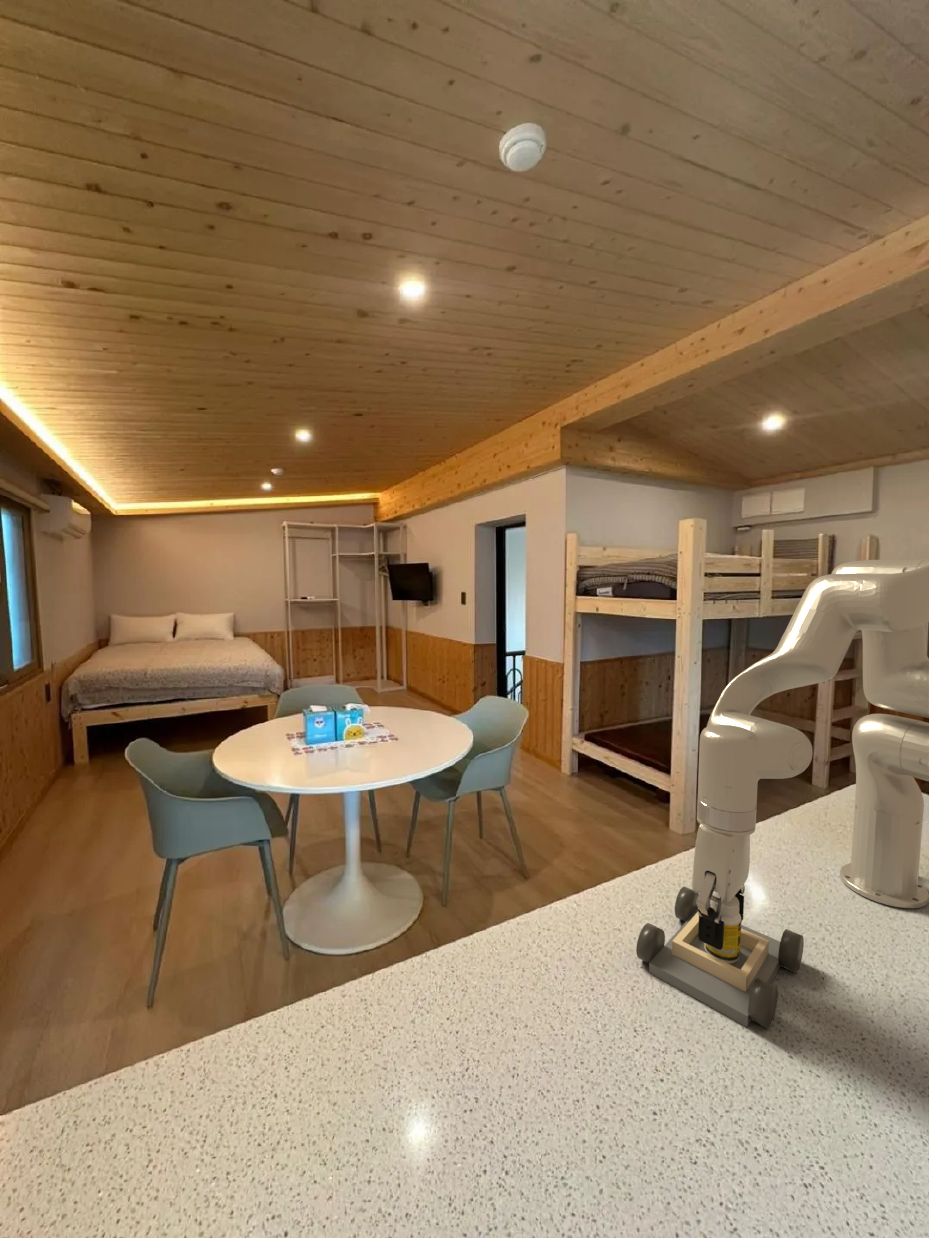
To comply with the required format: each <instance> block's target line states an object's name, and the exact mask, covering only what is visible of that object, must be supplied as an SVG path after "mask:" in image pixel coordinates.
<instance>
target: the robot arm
mask: <svg viewBox="0 0 929 1238" xmlns="http://www.w3.org/2000/svg"><path fill="white" fill-rule="evenodd" d="M927 623H929V559H927V558H926V559H924V558H923V559H864V560H854V561H848V562H843V563H841V564H839V565H836V567H834V568H833V570H832V571H831V574H825V575H822V576H818V577H817V578H815V579H814V580H812V581H811V582H810V583H809V584H808V585H807V587H806V589H805V590H804V591H803V594H802V596H801V598H800V600H799V601H798V605H797V606H796V608H795V610H794V612H793V615H792V616H791V617H790V620H789V622H788V625H787V627H786V629H785V631H784V632H783V634H782V636H781V638H780V640H779V642H778V645H777V647H776V648H775V649H774V651H773V652H772V653H770V654H769V655H767V656H765V657H763V658H761V659H759V661H757V662H755V663H753V664H752V665H749V667H747V668H746V669H744V670H743V671H742V672H740V673H739V674H738V675H736V676H735V677H734V678H733V679H732V680H730V682H729V683H728V684H727V685H726V686H725V687H724V689H723V690H722V692H721V694H720V696H719V697H718V699H717V702H716V703H715V705H714V707H713V709H712V712H711V713H710V716H709V719H708V721H707V723H706V727H704V728H703V729H702V730H701V733H700V735H699V747H698V748H699V750H698V751H699V753H698V757H699V758H698V776H697V777H698V781H697V784H698V785H697V805H696V806H697V808H696V809H697V813H696V820H697V822H698V823H699V826H698V830H697V833H696V840H695V846H694V855H693V863H692V864H693V865H692V877H691V889H692V890H693V892H695V893H699V895H698V898H697V902H696V904H697V907H698V915H699V928H698V938H699V940H700V941H702V942H704V943H706V944H708V945H710V946H712V947H714V948H716V949H719V950H721V949H722V948H723V937H724V922H723V921H721V919H722V914H723V910H724V905H725V904H726V903H728V902H730V901H731V899H732V898H733V897H734V896H735V897H736V898H737V899H738V901H739V914H740V915H741V923H742V921H743V920H744V910H745V909H744V908H745V895H744V894H745V889H746V887H745V883H746V882H747V879H748V877H749V874H750V873H749V872H750V862H751V861H750V859H751V858H750V857H751V835H752V834H754V833H755V831H756V824H757V802H758V801H757V800H758V782H759V781H760V780H761V779H762V780H763V779H771V780H772V779H775V780H776V779H777V780H778V779H779V780H780V779H781V780H782V779H789V778H793V777H796V776H798V775H801V774H802V773H803V772H805V771H806V769H807V768H808V767H809V766H810V765H811V762H812V759H813V745H812V742H811V740H810V739H809V738H808V736H807V735H805V733H803V732H802V731H801V730H799V729H797V728H795V727H792V726H790V725H786V724H783V723H779V722H776V721H772V720H768V719H766V718H761V717H758V716H754V715H751V714H752V713H753V711H754V709H755V708H756V707H757V705H759V704H760V703H761V702H762V701H764V700H766V699H767V698H769V697H771V696H773V695H774V694H777V693H781V692H784V691H787V690H791V689H792V690H793V689H796V688H797V689H798V688H801V687H806V686H811V685H816V684H820V683H823V682H827V681H829V680H831V679H833V678H834V677H835V676H836V675H837V673H838V671H839V669H840V667H841V664H842V663H843V660H844V658H845V656H846V654H847V653H848V650H849V648H850V646H851V644H852V641H853V639H854V637H855V636H856V633H858V632H859V631H861V634H862V635H861V636H862V688H863V694H864V697H865V698H866V700H867V701H868V702H869V703H870V704H871V705H874V706H876V707H879V708H882V709H884V710H889V711H894V712H899V713H903V714H909V715H914V716H918V717H923V718H928V719H929V657H928V655H927V630H926V627H925V624H927ZM851 741H852V749H853V756H854V762H855V776H856V779H855V797H854V813H853V827H852V829H853V830H852V842H851V856H850V857H851V858H850V863H846V864H844V865H842V866H841V867H840V871H839V877H840V879H841V881H842V882H843V883H844V884H845V886H847V887H848V888H849V889H850V890H852V891H853V892H855V893H857V894H858V895H861V896H862V897H864V898H867V899H868V900H871V901H874V902H876V903H879V904H883V905H886V906H890V907H895V908H900V909H901V908H902V909H919V908H922V907H925V906H927V905H928V903H929V892H928V890H927V889H926V887H924V885H923V884H922V883H920V882H919V875H920V861H921V849H922V847H921V846H922V834H923V822H924V821H923V819H924V811H925V810H924V809H925V802H924V796H923V794H922V793H923V792H922V791H921V788H920V786H919V784H918V783H917V781H916V780H915V779H920V780H923V781H926V782H929V722H927V721H922V720H919V719H914V718H908V717H904V716H899V715H894V714H888V713H871V714H867V715H864V716H862V717H861V718H859V719H858V720H857V721H856V723H855V724H854V726H853V729H852V734H851ZM714 891H715V892H717V893H718V894H719V896H721V897H720V898H718V897H715V896H713V892H714ZM710 900H713V901H715V902H718V905H717V910H716V911H715V910H714V909H713V908H712V907H710V906H711V905H710Z"/></svg>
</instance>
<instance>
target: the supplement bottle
mask: <svg viewBox="0 0 929 1238" xmlns="http://www.w3.org/2000/svg"><path fill="white" fill-rule="evenodd" d="M713 896H715V897H718V898H720V897H721V896H719V894H718V893H717V892H715V891H714V892H713ZM710 905H711V906H710V907H712V908H713V909H714V910H715V911H716V910H717V905H718V902H715V901H713V900H710ZM721 921H723V922H724V937H723V948H722V949H721V950H719V949H716V948H714V947H712V946H710V945H708V944H706V943H704V948H705V951H706V952H707V954H709V955H711V956H713V957H715V958H718V959H720V960H722V961H724V962H726V963H728V964H730V963H735V962H737V961H738V960H739V958H740V941H741V925H742V922H741V915H740V914H739V901H738V899H737V898H736V897H735V896H734V897H733V898H732V899H731V901H730V902H728V903H726V904H725V905H724V910H723V914H722V919H721Z"/></svg>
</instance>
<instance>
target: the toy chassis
mask: <svg viewBox="0 0 929 1238" xmlns="http://www.w3.org/2000/svg"><path fill="white" fill-rule="evenodd" d="M699 893H700V892H699ZM699 893H695V892H693V890H692V888H689V887H686V886H682V887H681V888H680V890H678V893H677V895H676V896H677V897H675V898H676V900H675V904H674V915H675V917H676V918H677V919H679V920H681V921H682V922H684V923H683V924H682V925H681V927H679V929H678V930H677V931H676V932H674V935H672V937H671V938H670V939H669V940H668V941H667V942H666V934H665V931H664V930H663V929H661V928H659V927H657V926H656V925H654V924H652V923H650V922H647V923H645V924H644V926H642V928H641V930H640V932H639V935H638V938H637V940H636V941H637V942H636V950H635V951H636V956H637V959H639V960H641V961H643V962H645V963H646V964H648V973H649V974H650V975H652V976H654V977H656V978H658V979H659V980H661V981H663V982H665V983H667V984H668V985H670V986H673V987H674V988H675V989H677V990H680V991H681V992H683V993H685V994H687V995H688V996H690V997H691V998H694V999H695V1000H698V1001H699V1002H701V1003H703V1004H704V1005H706V1006H708V1007H709V1008H712V1009H714V1010H715V1011H717V1012H719V1013H721V1014H723V1015H724V1016H727V1018H729V1019H731V1020H733V1021H735V1022H737V1023H738V1024H739V1025H742V1026H744V1027H746V1028H748V1027H749V1025H750V1023H751V1022H752V1021H753V1022H755V1023H757V1024H759V1025H760V1026H762V1027H764V1028H765V1029H770V1027H771V1026H772V1023H773V1020H774V1018H775V1015H776V1010H777V1005H778V998H779V997H778V995H779V991H778V986H777V985H776V984H774V983H773V981H774V980H775V977H776V976H777V974H778V972H779V970H780V969H781V967H782V968H785V969H786V970H789V971H792V972H793V973H795V974H797V973H798V972H799V969H800V967H801V964H802V959H803V954H804V948H805V947H804V946H805V945H804V943H805V941H804V940H805V939H804V936H803V935H802V934H799V933H797V932H795V931H792V930H790V929H787V928H785V930H783V932H782V936H781V938H780V940H778V939H774V938H773V937H770V936H769V935H765V934H764V933H761V932H759V931H757V930H754V929H752V928H749V927H747V926H745V925H743V924H741V941H740V958H739V960H738V961H737V962H735V963H730V964H728V963H726V962H724V961H722V960H720V959H718V958H715V957H713V956H711V955H709V954H707V952H706V951H705V948H704V942H702V941H700V940H699V938H698V928H699V915H698V907H697V904H696V902H697V898H698V895H699ZM665 942H666V944H665Z"/></svg>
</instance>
